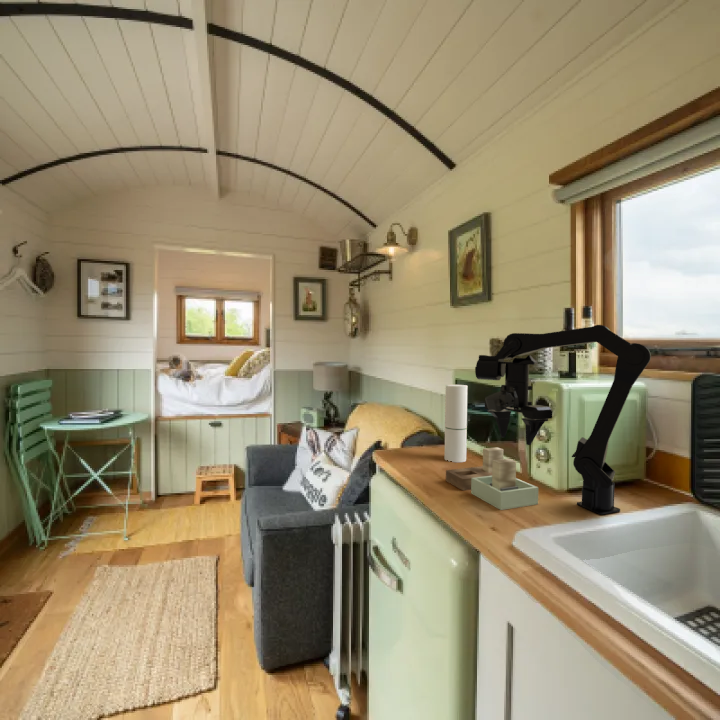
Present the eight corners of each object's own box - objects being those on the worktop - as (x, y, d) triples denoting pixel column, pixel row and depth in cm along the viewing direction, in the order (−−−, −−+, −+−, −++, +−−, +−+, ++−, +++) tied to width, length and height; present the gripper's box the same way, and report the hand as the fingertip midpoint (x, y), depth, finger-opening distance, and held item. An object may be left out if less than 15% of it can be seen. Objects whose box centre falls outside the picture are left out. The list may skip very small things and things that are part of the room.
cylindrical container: (464, 456, 134) (465, 384, 134) (467, 462, 127) (469, 386, 127) (443, 456, 135) (444, 384, 135) (445, 461, 128) (447, 386, 127)
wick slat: (496, 478, 112) (497, 447, 112) (502, 481, 109) (503, 449, 109) (482, 480, 110) (483, 448, 110) (488, 483, 108) (488, 450, 107)
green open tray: (505, 488, 103) (506, 473, 103) (538, 504, 93) (538, 487, 93) (471, 493, 99) (471, 477, 99) (500, 510, 89) (501, 492, 89)
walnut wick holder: (494, 475, 115) (494, 464, 115) (513, 483, 107) (513, 472, 107) (445, 480, 109) (445, 470, 109) (462, 490, 101) (462, 479, 101)
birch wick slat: (508, 494, 98) (509, 458, 98) (515, 497, 96) (516, 461, 96) (491, 496, 97) (492, 460, 96) (498, 500, 94) (499, 463, 94)
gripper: (469, 379, 108) (468, 435, 108) (518, 385, 90) (516, 452, 91) (501, 378, 112) (500, 433, 112) (554, 384, 94) (553, 448, 94)
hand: (515, 440), depth 102 cm, fingers open, 9 cm apart
